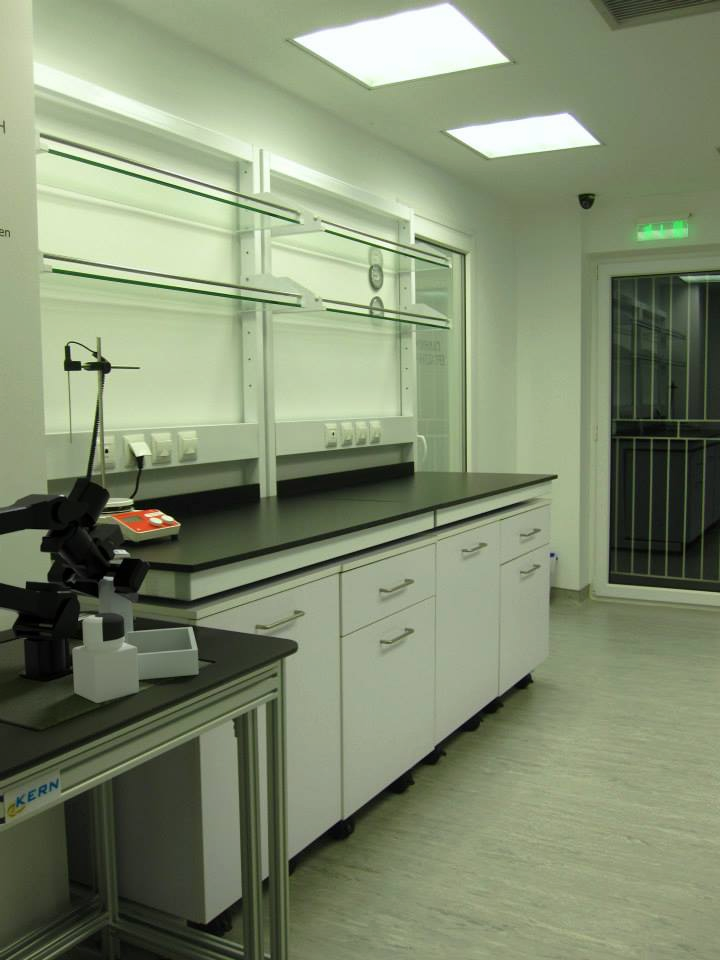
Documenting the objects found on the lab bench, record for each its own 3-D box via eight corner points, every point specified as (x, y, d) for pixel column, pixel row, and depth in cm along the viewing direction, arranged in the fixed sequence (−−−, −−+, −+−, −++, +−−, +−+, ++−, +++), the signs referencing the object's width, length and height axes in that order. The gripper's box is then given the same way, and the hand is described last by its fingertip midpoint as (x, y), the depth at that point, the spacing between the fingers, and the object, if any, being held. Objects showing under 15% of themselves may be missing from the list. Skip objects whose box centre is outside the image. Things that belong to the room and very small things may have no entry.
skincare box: (100, 640, 164) (96, 575, 163) (122, 636, 167) (119, 573, 166) (111, 647, 159) (108, 580, 158) (135, 643, 162) (131, 577, 161)
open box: (127, 680, 142) (126, 655, 142) (128, 654, 157) (127, 631, 157) (198, 674, 145) (197, 650, 144) (192, 648, 160) (192, 626, 159)
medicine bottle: (115, 682, 141) (112, 607, 140) (139, 692, 136) (136, 614, 135) (73, 693, 136) (69, 615, 135) (96, 704, 131) (92, 623, 130)
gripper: (141, 512, 154) (180, 565, 165) (55, 509, 161) (97, 560, 172) (114, 565, 147) (156, 616, 158) (25, 559, 154) (71, 609, 165)
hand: (120, 598), depth 164 cm, fingers closed on skincare box, 7 cm apart
